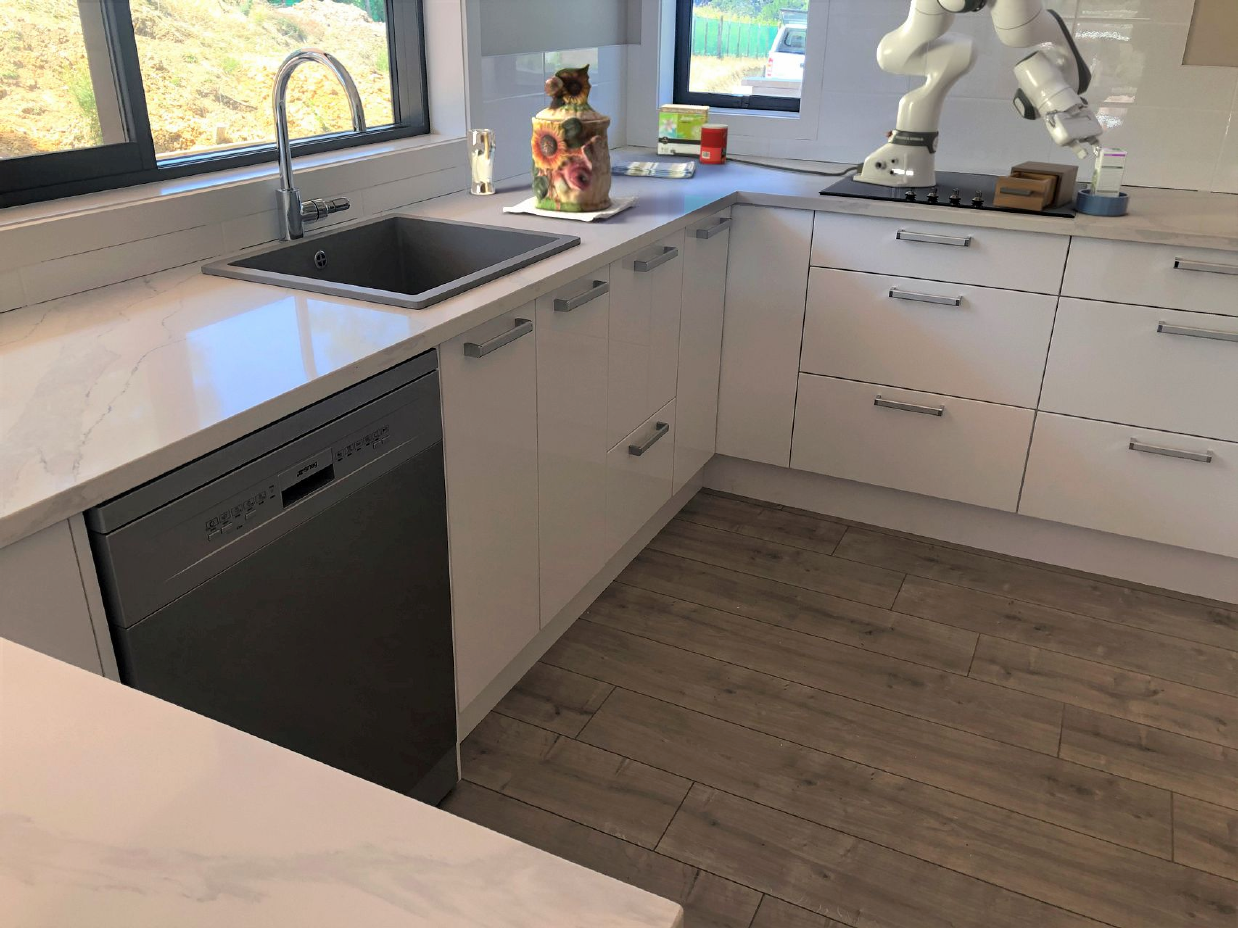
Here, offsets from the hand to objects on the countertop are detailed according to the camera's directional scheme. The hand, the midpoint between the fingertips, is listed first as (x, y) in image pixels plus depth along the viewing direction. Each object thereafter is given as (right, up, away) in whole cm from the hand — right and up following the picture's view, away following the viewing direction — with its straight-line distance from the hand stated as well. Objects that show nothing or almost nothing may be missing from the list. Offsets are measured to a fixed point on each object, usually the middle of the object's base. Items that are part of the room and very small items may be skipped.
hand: (1093, 155), depth 244 cm
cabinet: (-7, -7, +15) cm, 18 cm away
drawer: (-16, -11, +4) cm, 20 cm away
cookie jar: (-126, -16, -9) cm, 127 cm away
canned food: (-86, +18, +65) cm, 109 cm away
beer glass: (-149, -7, +10) cm, 150 cm away
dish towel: (-105, +9, +45) cm, 114 cm away
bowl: (+3, -13, +3) cm, 14 cm away
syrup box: (+3, -13, +3) cm, 13 cm away
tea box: (-95, +25, +81) cm, 127 cm away
